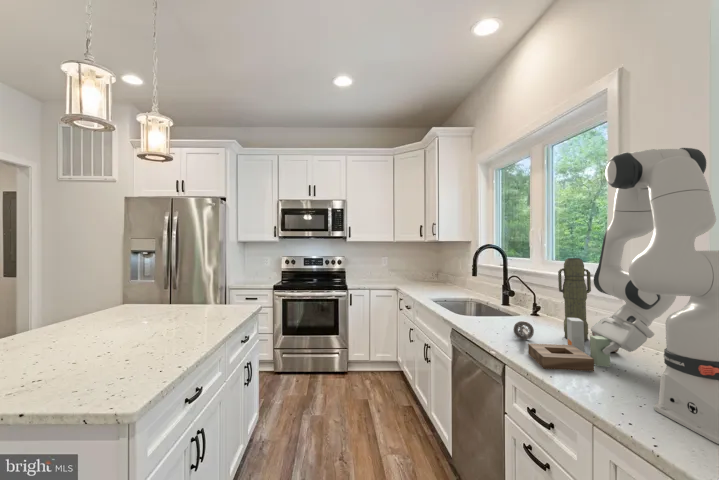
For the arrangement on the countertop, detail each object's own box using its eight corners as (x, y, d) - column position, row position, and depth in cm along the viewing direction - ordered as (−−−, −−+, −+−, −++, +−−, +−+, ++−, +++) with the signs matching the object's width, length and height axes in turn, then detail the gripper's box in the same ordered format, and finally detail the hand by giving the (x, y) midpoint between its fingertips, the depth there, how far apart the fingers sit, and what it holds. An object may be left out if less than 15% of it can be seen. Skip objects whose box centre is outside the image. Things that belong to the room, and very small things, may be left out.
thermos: (596, 341, 136) (593, 258, 137) (564, 340, 139) (562, 258, 140) (587, 336, 145) (584, 257, 145) (557, 334, 147) (555, 258, 148)
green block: (610, 366, 108) (609, 339, 108) (597, 365, 109) (596, 338, 109) (603, 362, 112) (602, 336, 112) (590, 361, 113) (589, 335, 113)
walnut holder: (594, 371, 104) (593, 358, 104) (543, 368, 107) (543, 356, 107) (572, 355, 119) (571, 345, 119) (528, 354, 121) (528, 343, 122)
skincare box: (567, 347, 129) (566, 317, 129) (579, 348, 128) (578, 317, 128) (572, 352, 123) (571, 320, 123) (585, 353, 122) (584, 321, 122)
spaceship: (512, 329, 127) (532, 323, 125) (509, 320, 159) (525, 315, 157) (521, 349, 125) (542, 343, 123) (516, 336, 157) (533, 331, 155)
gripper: (604, 309, 120) (575, 334, 121) (641, 321, 100) (607, 351, 101) (617, 321, 119) (589, 347, 120) (658, 336, 99) (623, 367, 100)
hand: (597, 349), depth 111 cm, fingers open, 5 cm apart
